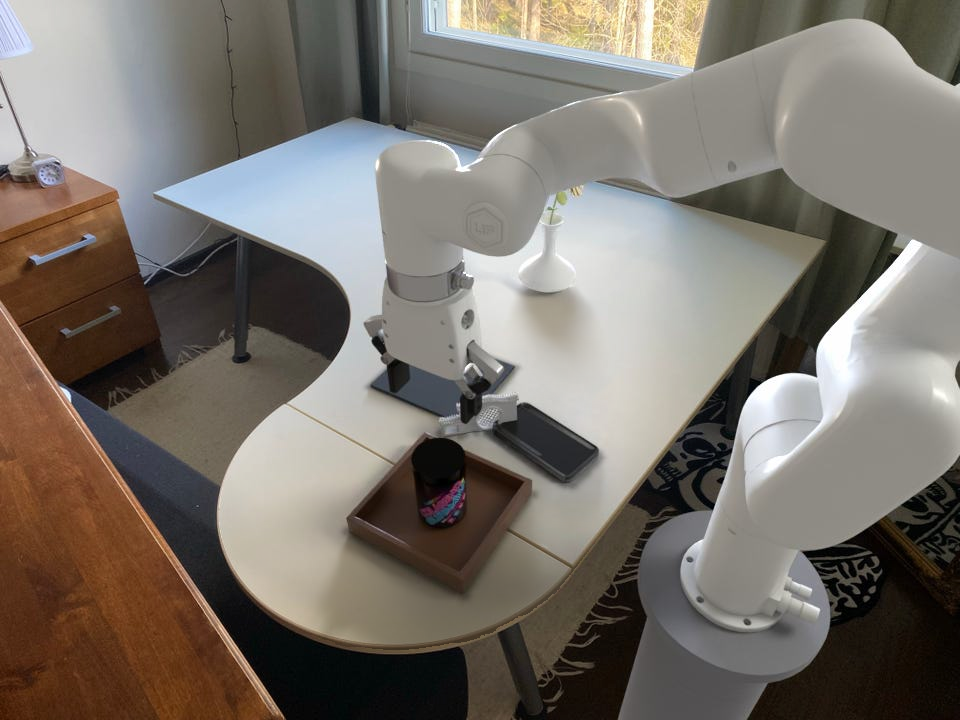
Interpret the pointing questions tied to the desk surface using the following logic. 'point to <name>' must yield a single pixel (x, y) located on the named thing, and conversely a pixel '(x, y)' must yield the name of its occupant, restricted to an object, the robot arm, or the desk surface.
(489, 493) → the tray
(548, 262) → the flower in vase
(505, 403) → the garden wall model
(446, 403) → the mat
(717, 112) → the robot arm
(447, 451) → the supplement container
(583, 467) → the phone
